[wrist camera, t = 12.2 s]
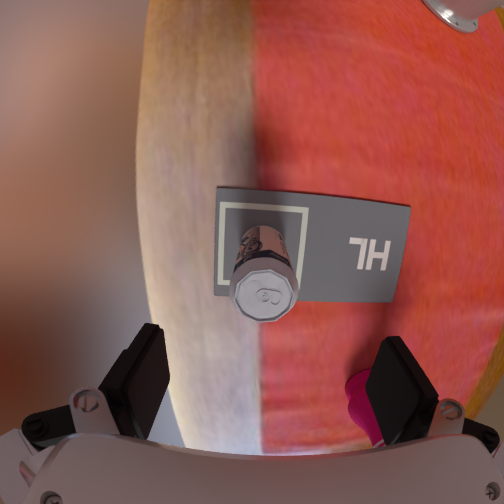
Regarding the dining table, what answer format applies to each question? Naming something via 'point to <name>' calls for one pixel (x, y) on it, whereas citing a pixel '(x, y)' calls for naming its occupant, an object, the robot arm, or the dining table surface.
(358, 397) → the pepper mill
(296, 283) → the beer can
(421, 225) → the dining table surface
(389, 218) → the slate board
